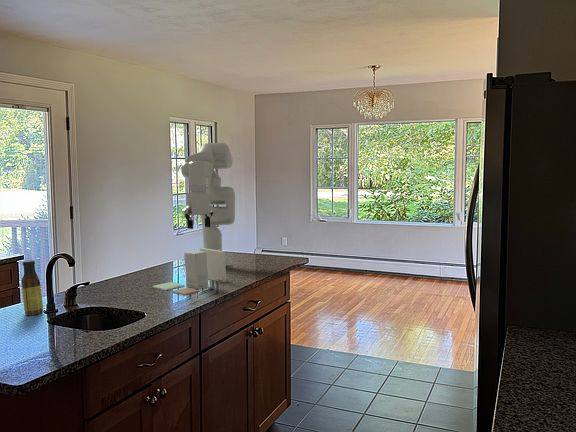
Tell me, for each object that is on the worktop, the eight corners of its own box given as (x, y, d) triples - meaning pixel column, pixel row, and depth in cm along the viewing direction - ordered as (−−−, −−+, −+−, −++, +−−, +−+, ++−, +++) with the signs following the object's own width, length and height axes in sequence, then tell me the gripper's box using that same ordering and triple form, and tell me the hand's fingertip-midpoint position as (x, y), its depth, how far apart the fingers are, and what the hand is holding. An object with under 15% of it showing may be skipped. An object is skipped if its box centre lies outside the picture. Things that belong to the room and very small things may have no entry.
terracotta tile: (187, 288, 229) (187, 287, 229) (199, 291, 224) (199, 290, 224) (172, 292, 223) (172, 291, 223) (183, 295, 218) (183, 294, 218)
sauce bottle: (47, 311, 198) (43, 259, 196) (35, 316, 192) (31, 262, 190) (31, 310, 199) (28, 259, 197) (20, 315, 193) (15, 262, 191)
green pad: (171, 283, 241) (170, 281, 241) (184, 286, 234) (184, 285, 234) (152, 287, 233) (152, 286, 233) (165, 290, 227) (165, 289, 226)
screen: (205, 276, 253) (204, 247, 251) (228, 281, 242) (227, 251, 241) (199, 278, 250) (197, 248, 248) (221, 282, 239) (220, 252, 238)
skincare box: (208, 286, 232) (207, 251, 231) (196, 289, 228) (195, 253, 226) (197, 284, 238) (195, 249, 236) (185, 286, 233) (183, 251, 232)
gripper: (207, 188, 243) (208, 226, 244) (176, 189, 230) (178, 229, 231) (218, 188, 238) (219, 226, 239) (187, 189, 225) (188, 229, 226)
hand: (199, 227), depth 235 cm, fingers open, 9 cm apart
